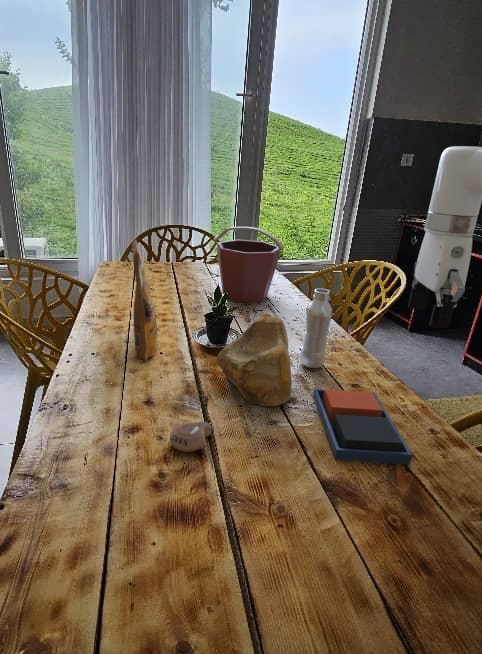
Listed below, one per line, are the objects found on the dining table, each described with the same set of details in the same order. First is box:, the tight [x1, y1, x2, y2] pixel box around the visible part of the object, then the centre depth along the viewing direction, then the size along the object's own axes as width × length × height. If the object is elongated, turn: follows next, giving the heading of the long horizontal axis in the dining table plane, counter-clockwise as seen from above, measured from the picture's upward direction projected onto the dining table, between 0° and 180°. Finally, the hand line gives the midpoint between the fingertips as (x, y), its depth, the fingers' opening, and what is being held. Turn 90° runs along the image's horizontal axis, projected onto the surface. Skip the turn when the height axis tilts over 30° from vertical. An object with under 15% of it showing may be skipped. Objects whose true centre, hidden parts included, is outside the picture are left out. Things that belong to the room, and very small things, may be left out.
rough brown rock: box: [216, 312, 292, 407], centre depth 100 cm, size 23×17×15 cm
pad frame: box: [312, 388, 413, 465], centre depth 88 cm, size 13×21×2 cm, turn 177°
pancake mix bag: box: [131, 239, 158, 361], centre depth 114 cm, size 7×19×28 cm, turn 2°
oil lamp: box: [169, 420, 215, 453], centre depth 82 cm, size 9×4×8 cm
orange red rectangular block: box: [323, 388, 382, 422], centre depth 92 cm, size 10×7×4 cm
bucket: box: [213, 226, 284, 304], centre depth 160 cm, size 24×22×25 cm
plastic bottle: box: [299, 288, 333, 369], centre depth 110 cm, size 6×7×20 cm
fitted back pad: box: [333, 414, 402, 452], centre depth 83 cm, size 10×8×4 cm
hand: (426, 317), depth 82 cm, fingers open, 9 cm apart
